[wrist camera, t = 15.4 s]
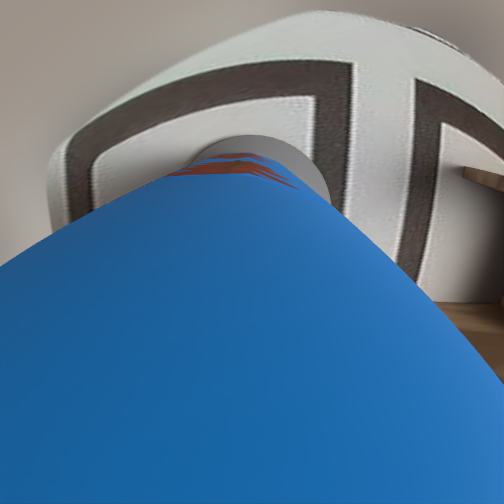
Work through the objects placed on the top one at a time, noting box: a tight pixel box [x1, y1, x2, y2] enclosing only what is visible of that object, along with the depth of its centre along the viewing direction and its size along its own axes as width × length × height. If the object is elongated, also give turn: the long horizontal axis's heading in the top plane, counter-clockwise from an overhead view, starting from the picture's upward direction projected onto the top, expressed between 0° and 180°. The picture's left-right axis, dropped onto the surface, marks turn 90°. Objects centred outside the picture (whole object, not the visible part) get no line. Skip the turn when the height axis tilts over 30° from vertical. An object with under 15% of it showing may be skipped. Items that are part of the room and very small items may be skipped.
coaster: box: [189, 135, 331, 205], centre depth 24 cm, size 13×13×1 cm
